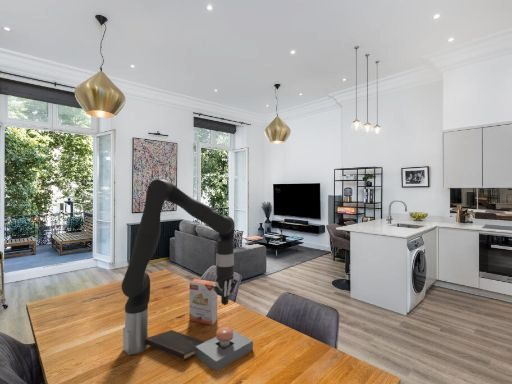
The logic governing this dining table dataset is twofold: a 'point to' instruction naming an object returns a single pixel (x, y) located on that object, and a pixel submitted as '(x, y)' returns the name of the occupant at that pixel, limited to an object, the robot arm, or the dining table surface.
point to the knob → (224, 336)
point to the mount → (223, 351)
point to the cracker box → (202, 302)
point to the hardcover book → (174, 344)
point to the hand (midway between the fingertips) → (225, 304)
